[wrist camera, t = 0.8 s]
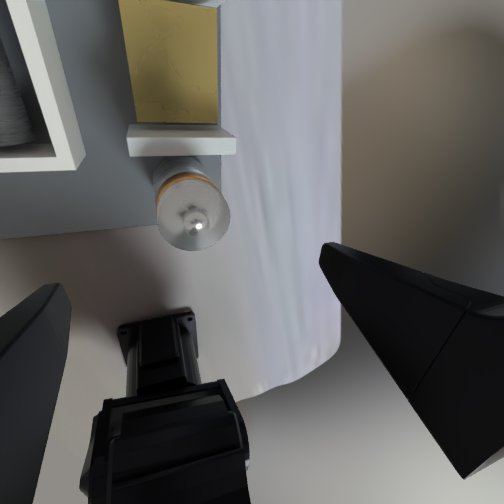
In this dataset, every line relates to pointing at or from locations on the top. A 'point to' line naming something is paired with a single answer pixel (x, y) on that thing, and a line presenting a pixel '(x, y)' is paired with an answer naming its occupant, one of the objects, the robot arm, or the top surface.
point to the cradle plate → (171, 60)
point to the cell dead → (12, 107)
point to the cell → (188, 204)
